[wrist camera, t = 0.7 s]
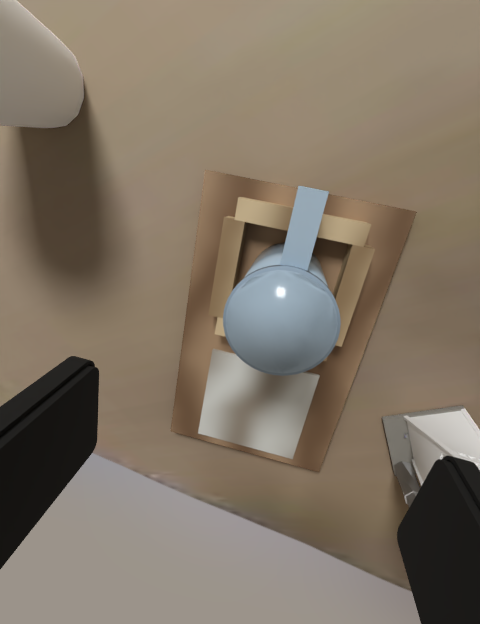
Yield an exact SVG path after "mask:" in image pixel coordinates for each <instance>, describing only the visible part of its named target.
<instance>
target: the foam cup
mask: <svg viewBox="0 0 480 624" xmlns="http://www.w3.org/2000/svg"><path fill="white" fill-rule="evenodd" d="M83 99H84V84H83V75H82V72H81V70H80V67H79V65H78V62H77V60H76V57H75V55H74V54H73V53H72V52H71V51H70V50H69V49H68V48H67V47H66V46H65V45H64V44H63V42H62V41H61V40H59V39H58V38H57V37H56V36H55V35H54V34H53V33H52V32H51V31H50V30H49V29H48V28H47V27H46V26H44V25H43V24H42V23H41V22H40V21H39V20H38V19H37V18H36V17H34V16H33V15H32V14H31V13H30V12H29V11H28V10H27V9H26V8H25V7H23V6H22V5H21V4H20V3H19V2H18V1H17V0H0V126H17V127H34V128H56V127H62V126H67V125H68V124H69V123H70V122H71V121H72V120H73V119H74V118H75V117H76V116H77V115H78V114H79V111H80V108H81V105H82V102H83Z"/></svg>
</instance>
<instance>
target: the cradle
mask: <svg viewBox="0 0 480 624" xmlns="http://www.w3.org/2000/svg"><path fill="white" fill-rule="evenodd" d="M292 211H293V207H289V206H284V205H279V204H274V203H269V202H265V201H260V200H255V199H250V198H245V197H238V202H237V208H236V213H235V217H232V216H227V217H224V221H223V227H222V233H221V239H220V246H219V252H218V258H217V264H216V270H215V277H214V283H213V289H212V295H211V301H210V308H209V314H208V315H211V316H215V317H217V323H216V329H215V334H216V335H221V336H225V332H224V327H223V313H224V308H225V304H226V302H227V300H228V297H229V296H230V294H231V292H232V291H233V289H234V288H235V287H236V282H237V277H238V272H239V266H240V261H241V256H242V251H243V245H244V240H245V235H246V229H247V224H248V223H253V224H257V225H262V226H267V227H272V228H276V229H281V230H286V231H288V228H289V224H290V220H291V216H292ZM370 227H371V224H369V223H367V222H362V221H358V220H353V219H348V218H343V217H338V216H333V215H328V214H323V215H322V219H321V223H320V226H319V230H318V234H317V237H319V238H324V239H328V240H333V241H338V242H343V243H347V244H348V246H347V249H346V253H345V256H344V259H343V262H342V265H341V269H340V272H339V275H338V278H337V282H336V285H335V288H334V291H333V296H334V298H335V300H336V303H337V306H338V308H339V313H340V322H341V325H340V333H339V337H338V340H337V342H336V346H340V347H342V344H343V341H344V339H345V336H346V333H347V330H348V327H349V324H350V321H351V318H352V315H353V312H354V309H355V307H356V304H357V301H358V298H359V295H360V292H361V289H362V286H363V283H364V280H365V277H366V275H367V272H368V269H369V266H370V263H371V260H372V257H373V254H374V251H375V249H374V248H373V247H371V246H369V245H365V242H366V239H367V236H368V233H369V230H370ZM225 337H226V336H225ZM327 358H328V357H327ZM327 358H326V359H324V360H323V361H327Z"/></svg>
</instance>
